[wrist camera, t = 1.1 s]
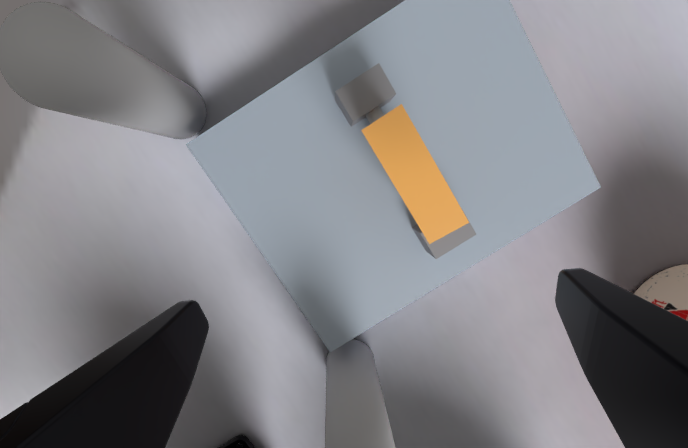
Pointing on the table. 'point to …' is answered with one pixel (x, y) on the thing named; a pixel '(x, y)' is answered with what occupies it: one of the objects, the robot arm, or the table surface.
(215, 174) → the panel
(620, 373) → the robot arm
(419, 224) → the thick orange slab
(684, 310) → the teacup with lid
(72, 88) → the cord post near
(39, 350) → the table surface
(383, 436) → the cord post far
